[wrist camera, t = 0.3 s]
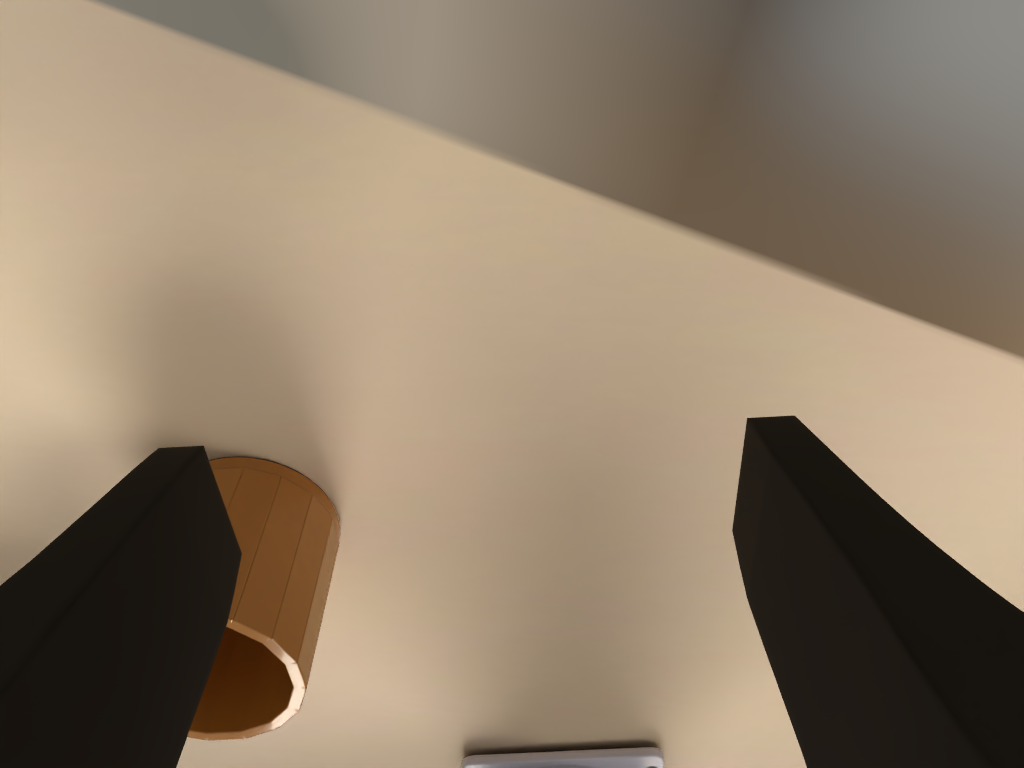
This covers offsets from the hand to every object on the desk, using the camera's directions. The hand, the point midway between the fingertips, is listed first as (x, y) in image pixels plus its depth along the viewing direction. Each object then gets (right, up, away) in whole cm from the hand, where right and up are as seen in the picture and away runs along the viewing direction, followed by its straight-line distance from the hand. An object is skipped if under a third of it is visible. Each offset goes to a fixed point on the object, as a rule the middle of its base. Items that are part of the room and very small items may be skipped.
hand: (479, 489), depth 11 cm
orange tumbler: (-7, -3, +14) cm, 16 cm away
